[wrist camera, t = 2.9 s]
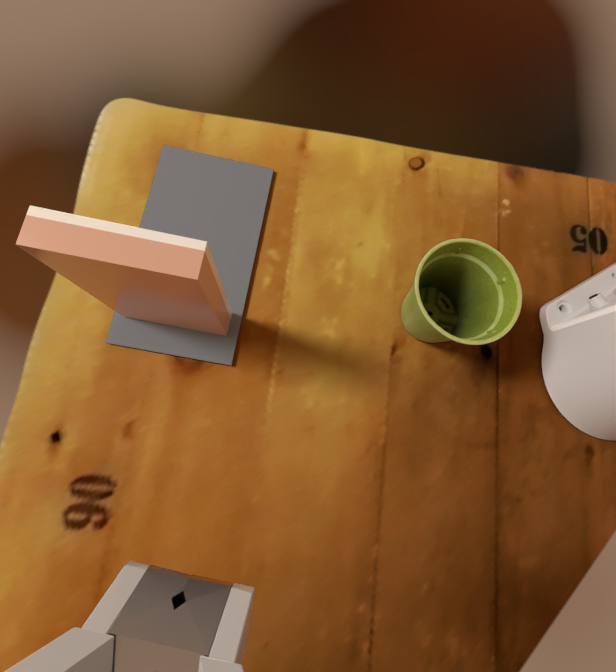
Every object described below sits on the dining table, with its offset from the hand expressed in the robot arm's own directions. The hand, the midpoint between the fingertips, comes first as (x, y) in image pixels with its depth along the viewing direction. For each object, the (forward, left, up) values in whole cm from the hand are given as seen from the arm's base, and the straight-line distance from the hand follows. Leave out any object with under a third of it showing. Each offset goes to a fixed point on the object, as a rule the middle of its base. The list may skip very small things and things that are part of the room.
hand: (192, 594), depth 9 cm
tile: (-3, -15, -27) cm, 31 cm away
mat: (-9, -20, -27) cm, 35 cm away
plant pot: (-23, +1, -27) cm, 36 cm away
